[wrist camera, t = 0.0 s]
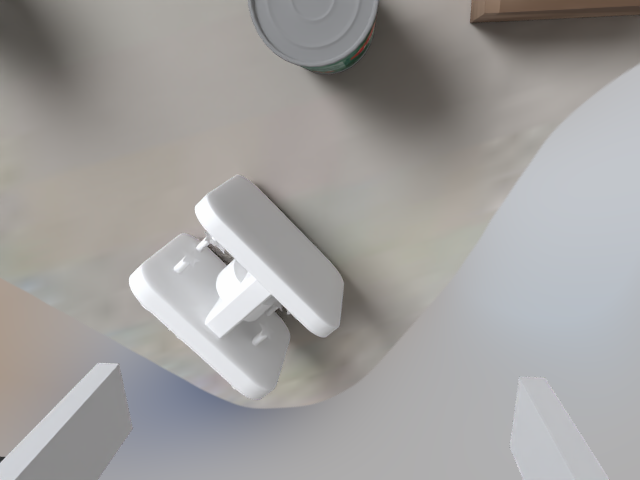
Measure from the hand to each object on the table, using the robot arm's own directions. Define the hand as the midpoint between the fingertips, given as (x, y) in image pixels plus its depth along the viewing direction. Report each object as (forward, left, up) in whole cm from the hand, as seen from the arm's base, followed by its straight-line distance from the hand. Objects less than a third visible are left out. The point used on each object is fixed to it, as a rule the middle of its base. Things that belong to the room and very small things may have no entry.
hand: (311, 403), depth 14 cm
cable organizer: (+6, -8, -28) cm, 30 cm away
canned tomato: (-15, -1, -28) cm, 32 cm away
